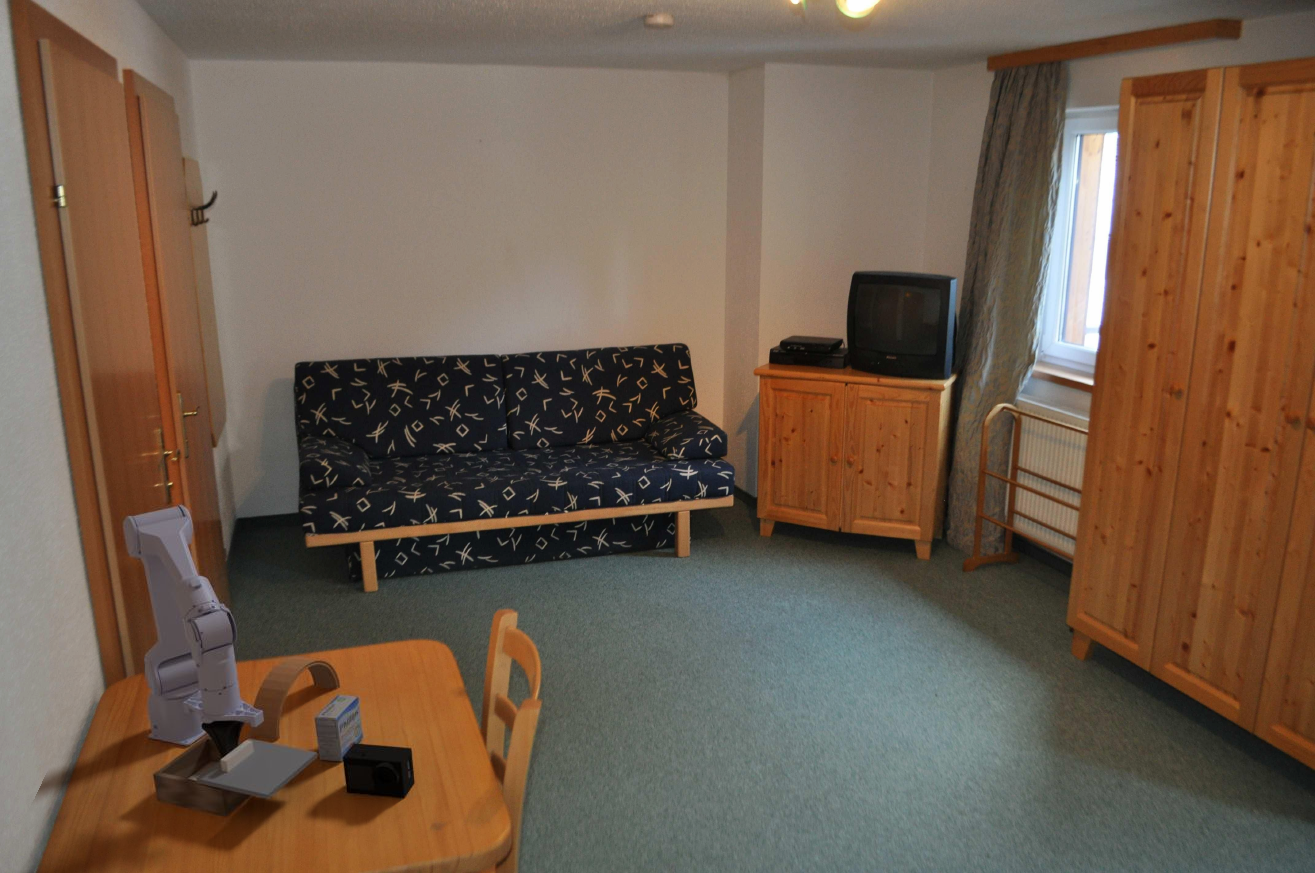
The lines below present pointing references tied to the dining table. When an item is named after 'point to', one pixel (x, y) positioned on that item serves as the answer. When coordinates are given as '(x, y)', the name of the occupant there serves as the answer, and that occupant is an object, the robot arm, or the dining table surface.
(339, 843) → the dining table surface
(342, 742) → the medicine box
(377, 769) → the digital camera
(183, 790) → the box
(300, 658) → the arch
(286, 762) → the lid
